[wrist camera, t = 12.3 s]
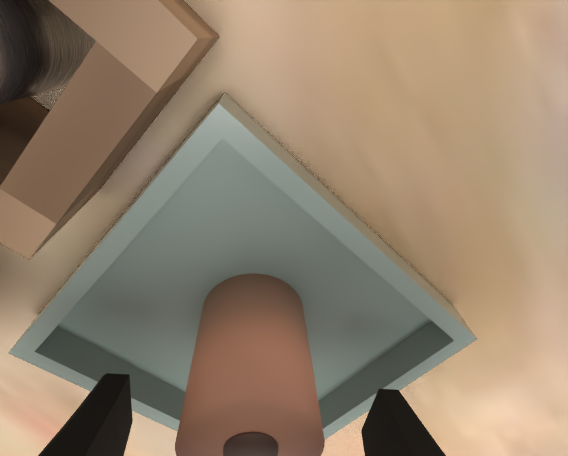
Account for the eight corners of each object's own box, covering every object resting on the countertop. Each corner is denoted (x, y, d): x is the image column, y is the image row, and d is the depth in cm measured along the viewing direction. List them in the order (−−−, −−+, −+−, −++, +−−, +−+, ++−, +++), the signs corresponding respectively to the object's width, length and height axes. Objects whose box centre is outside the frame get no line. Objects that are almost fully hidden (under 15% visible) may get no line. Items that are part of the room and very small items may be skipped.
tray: (453, 306, 15) (477, 338, 13) (270, 435, 18) (271, 474, 17) (224, 92, 10) (218, 102, 9) (37, 316, 14) (8, 353, 12)
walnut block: (219, 36, 10) (197, 38, 6) (98, 190, 12) (29, 259, 8) (-9, -192, 7) (-244, -389, 4) (-114, 43, 9) (-339, 50, 6)
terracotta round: (323, 300, 14) (355, 433, 9) (268, 363, 15) (272, 504, 10) (234, 256, 12) (221, 383, 8) (184, 328, 14) (148, 471, 9)
